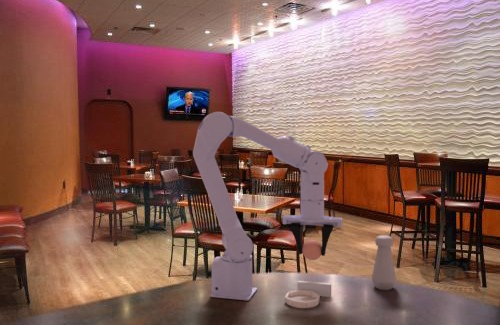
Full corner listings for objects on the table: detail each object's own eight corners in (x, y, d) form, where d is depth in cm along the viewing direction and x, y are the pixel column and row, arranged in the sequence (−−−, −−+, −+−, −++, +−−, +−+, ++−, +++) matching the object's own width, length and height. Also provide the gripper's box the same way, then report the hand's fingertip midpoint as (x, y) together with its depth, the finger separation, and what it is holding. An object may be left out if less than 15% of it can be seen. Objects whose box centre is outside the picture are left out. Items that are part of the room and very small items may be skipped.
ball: (300, 261, 113) (300, 241, 113) (303, 256, 118) (303, 237, 118) (321, 263, 112) (320, 242, 111) (323, 257, 117) (323, 237, 116)
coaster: (282, 306, 104) (282, 300, 104) (289, 294, 111) (289, 289, 111) (316, 309, 102) (316, 303, 102) (321, 297, 109) (321, 291, 109)
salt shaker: (396, 292, 113) (397, 239, 112) (372, 290, 114) (373, 238, 113) (394, 284, 118) (395, 234, 117) (371, 282, 119) (371, 233, 119)
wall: (297, 294, 112) (297, 281, 112) (298, 292, 113) (298, 280, 112) (330, 297, 109) (330, 284, 109) (331, 295, 110) (331, 283, 110)
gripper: (279, 200, 112) (279, 256, 113) (340, 203, 108) (340, 260, 109) (285, 196, 119) (285, 248, 120) (343, 198, 115) (342, 252, 116)
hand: (312, 253), depth 115 cm, fingers closed on ball, 5 cm apart
